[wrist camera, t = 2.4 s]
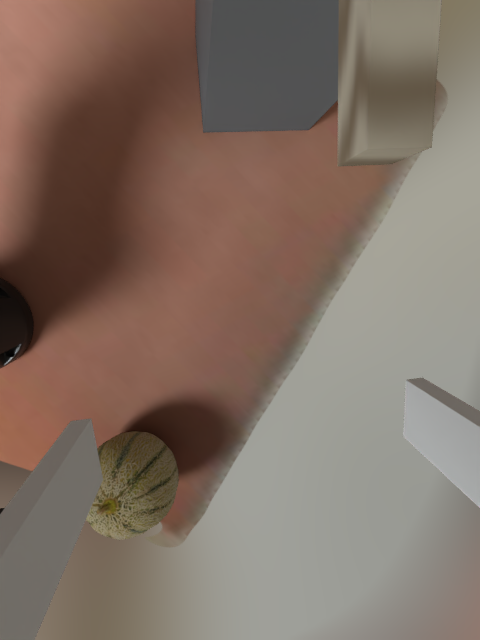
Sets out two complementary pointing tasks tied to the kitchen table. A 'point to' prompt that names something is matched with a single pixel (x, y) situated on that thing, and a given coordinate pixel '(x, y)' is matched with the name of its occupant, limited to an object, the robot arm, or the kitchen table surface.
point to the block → (386, 79)
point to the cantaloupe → (133, 485)
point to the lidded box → (266, 63)
